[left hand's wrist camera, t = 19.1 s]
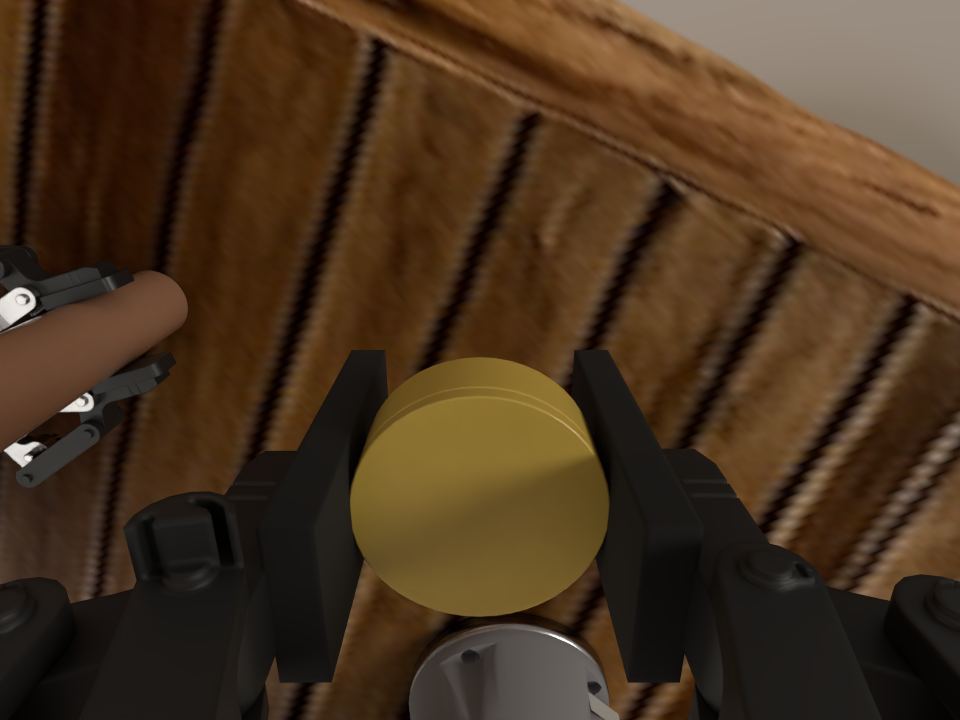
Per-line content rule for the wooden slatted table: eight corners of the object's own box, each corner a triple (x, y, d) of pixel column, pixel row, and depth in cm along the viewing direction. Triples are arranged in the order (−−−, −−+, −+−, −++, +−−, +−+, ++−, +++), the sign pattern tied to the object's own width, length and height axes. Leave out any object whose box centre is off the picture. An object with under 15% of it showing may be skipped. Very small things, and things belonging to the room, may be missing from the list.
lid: (499, 587, 13) (502, 654, 11) (322, 479, 12) (298, 536, 10) (640, 443, 12) (666, 494, 10) (455, 308, 11) (451, 342, 9)
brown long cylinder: (119, 264, 37) (-194, 390, 19) (189, 277, 37) (-61, 413, 20) (120, 328, 38) (-172, 497, 21) (187, 340, 38) (-48, 517, 21)
